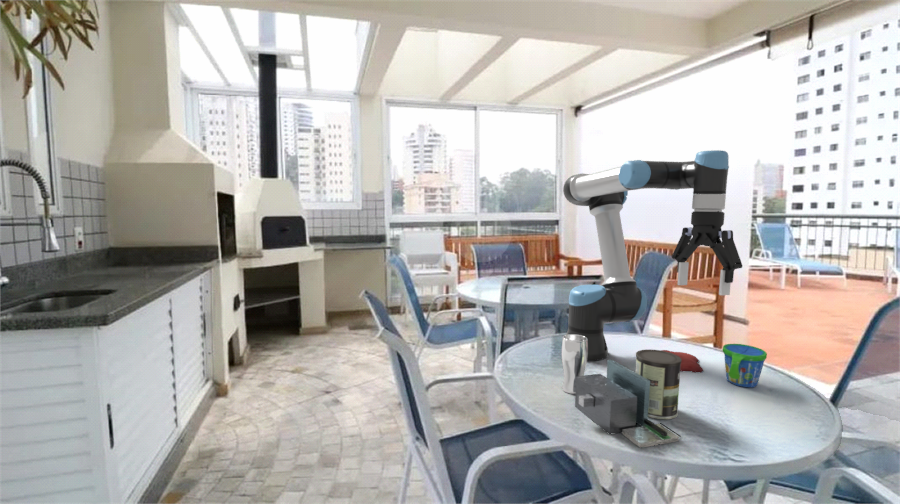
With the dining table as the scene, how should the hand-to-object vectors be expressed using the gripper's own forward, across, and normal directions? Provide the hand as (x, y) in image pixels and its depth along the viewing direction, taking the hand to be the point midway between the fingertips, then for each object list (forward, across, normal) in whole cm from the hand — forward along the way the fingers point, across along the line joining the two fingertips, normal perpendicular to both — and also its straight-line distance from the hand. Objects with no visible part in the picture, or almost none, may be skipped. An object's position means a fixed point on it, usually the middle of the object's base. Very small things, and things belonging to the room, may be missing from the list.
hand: (702, 289), depth 118 cm
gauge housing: (+29, -9, +30) cm, 43 cm away
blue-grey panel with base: (+28, -9, +33) cm, 45 cm away
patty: (+29, +20, -13) cm, 38 cm away
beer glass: (+29, +10, +32) cm, 44 cm away
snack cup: (+29, +1, -18) cm, 34 cm away
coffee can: (+29, -6, +18) cm, 35 cm away
